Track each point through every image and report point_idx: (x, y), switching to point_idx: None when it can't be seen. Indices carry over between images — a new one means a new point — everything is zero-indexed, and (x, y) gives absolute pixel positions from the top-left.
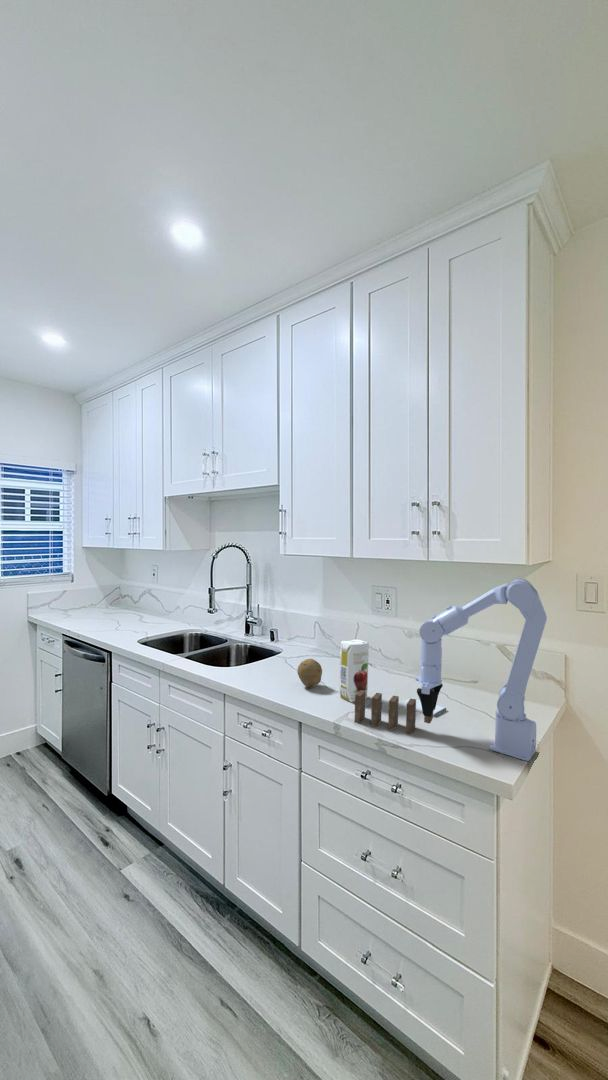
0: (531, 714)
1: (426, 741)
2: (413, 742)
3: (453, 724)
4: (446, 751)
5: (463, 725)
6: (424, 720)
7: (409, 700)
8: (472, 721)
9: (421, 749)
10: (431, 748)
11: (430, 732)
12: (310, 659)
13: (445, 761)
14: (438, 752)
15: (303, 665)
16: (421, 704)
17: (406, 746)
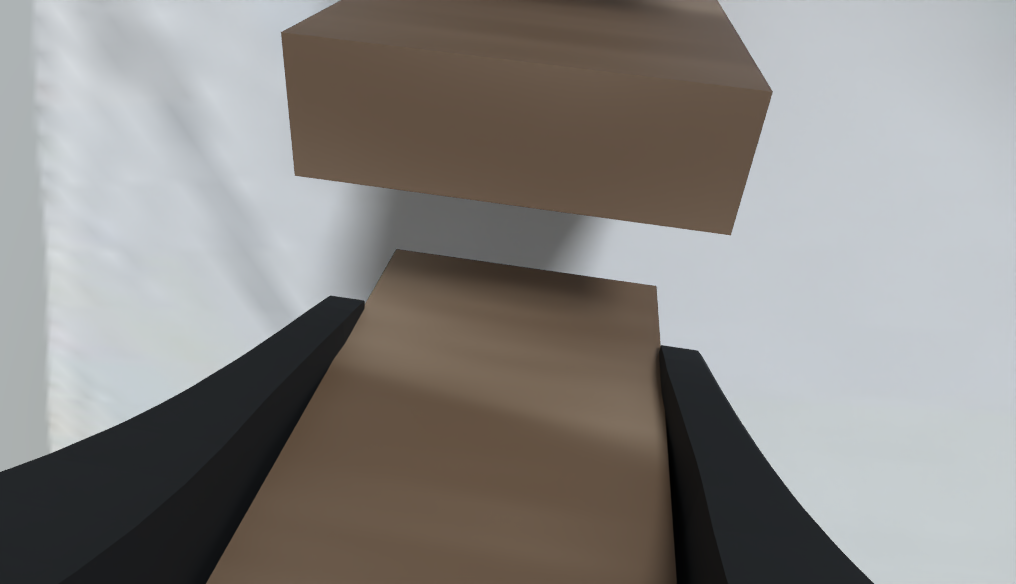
0: None
1: (321, 202)
2: (217, 72)
3: (877, 443)
4: (220, 355)
5: (865, 512)
6: (388, 264)
7: (585, 78)
8: (989, 581)
9: (115, 162)
10: (197, 247)
11: (575, 236)
12: None
13: (48, 341)
14: (160, 300)
15: None
16: (193, 386)
17: (71, 3)
